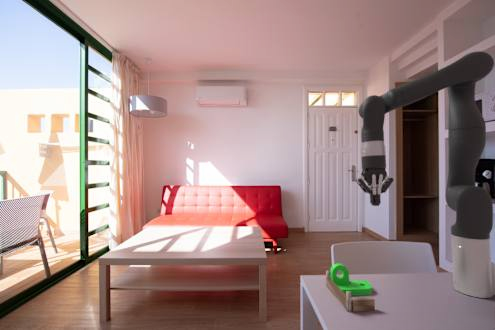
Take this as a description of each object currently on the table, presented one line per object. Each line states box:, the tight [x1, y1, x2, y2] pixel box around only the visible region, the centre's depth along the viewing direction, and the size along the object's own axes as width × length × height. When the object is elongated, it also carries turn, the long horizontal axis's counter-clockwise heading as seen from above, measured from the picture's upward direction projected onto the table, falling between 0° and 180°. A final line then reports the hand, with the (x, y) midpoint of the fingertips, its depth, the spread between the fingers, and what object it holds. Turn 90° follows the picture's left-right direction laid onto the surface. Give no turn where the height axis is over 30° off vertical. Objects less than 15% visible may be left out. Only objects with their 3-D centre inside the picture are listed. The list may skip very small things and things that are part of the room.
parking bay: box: [325, 270, 376, 313], centre depth 77 cm, size 8×16×5 cm, turn 4°
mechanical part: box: [329, 262, 373, 296], centre depth 81 cm, size 12×6×8 cm, turn 93°
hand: (375, 205), depth 86 cm, fingers closed
